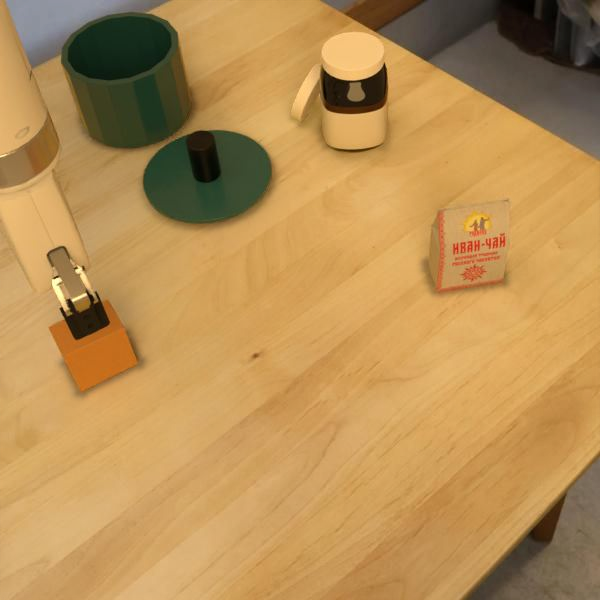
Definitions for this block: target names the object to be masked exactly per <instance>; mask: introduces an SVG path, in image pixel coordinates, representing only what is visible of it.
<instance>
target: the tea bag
mask: <svg viewBox="0 0 600 600" xmlns="http://www.w3.org/2000/svg"><path fill="white" fill-rule="evenodd" d="M511 202H512V201H511V200H510V198H503V199H497V200H490V201H483V202H476V203H469V204H464V205H456V206H450V207H443V208H438V209H437V212H436V214H435V217H434V219H433V221H432V224H430V225H431V226H430V237H429V250H428V261H427V265H428V269H429V271H430V275H431V278H432V281H433V286H434V288H435V291H436V293H440V292H445V291H453V290H459V289H466V288H473V287H479V286H484V285H485V286H486V285H493V284H497V283H498V284H499V283H503V282H504V276H505V272H506V266H507V262H508V261H507V260H508V255H509V250H510V245H511Z"/></svg>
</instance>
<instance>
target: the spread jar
mask: <svg viewBox="0 0 600 600" xmlns="http://www.w3.org/2000/svg"><path fill="white" fill-rule="evenodd" d="M320 53H321V54H320V55H321V63H320V64H319V63H316V64H315V65H313V67H312V68H311V69H310V71H309V72H308V73H307V76H306V77H305V79H304V80H303V82H302V84H301V86H300V88H299V90H298V92H297V95H296V96H295V99H294V101H293V104H292V107H291V109H290V117H292V118H294V119H295V120H297V121H299V122H303V121H304V120H305V119H306V118H307V116H308V115H309V113H310V112H311V110H312V109H313V107H314V105H315V103H316V101H317V100H318V97H319V99H320V100H319V101H320V120H321V129H322V136H323V140H324V142H325V144H326V145H327V146H328V148H330V149H332V150H334V151H337V152H342V153H350V154H352V153H353V154H354V153H356V154H357V153H364V152H368V151H369V152H370V151H372V150H374V149H377V148H379V147H380V146H382V145H383V144H384V142H385V141H386V138H387V134H388V133H387V132H388V123H389V122H388V121H389V120H388V118H389V117H388V113H389V111H388V109H389V76H388V67H387V65H386V62H385V46H384V44H383V42H382V41H381V39H379V38H378V37H376V36H375V35H372V34H370V33H367V32H362V31H348V32H347V31H346V32H343V33H339V34H336V35H334V36H332V37H330V38H329V39H328V40H326V41H325V43H324V44H323V45H322V47H321V52H320Z"/></svg>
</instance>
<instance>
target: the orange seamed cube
mask: <svg viewBox="0 0 600 600" xmlns="http://www.w3.org/2000/svg"><path fill="white" fill-rule="evenodd" d="M101 302H102V304H103V307H104V309H105V311H106V314H107V316H108V319H109V321H110V324H109V325H108V326H107V327H105V328H103V329H100V330H98V331H97V332H95V333H93V334H90V335H88V336H86V337H84V338H82V339H79V340H75V339H74V337H73V335H72V333H71V331H70V329H69V327H68V325H67V323H66V321H65V319H64V318H63V320H60V321H58V322H56V323H54V324H51V325H49V326H48V330H49V332H50V334H51V335H52V336H51V337H52V338H53V340H54V342H55V344H56V346H57V348H58V350H59V352H60V355H61V356H62V358H63V360H64V362H65V364H66V366H67V368H68V370H69V372H70V373H71V376H72V378H73V379H74V381H75V383H76V386H77V388H78V390H79V391H80V392H85V391H86V390H88V389H90V388H92V387H94V386H96V385H98V384H101V383H102V382H104V381H106V380H108V379H110V378H112V377H114V376H116V375H119V374H121V373H122V372H124V371H126V370H129V369H131V368H132V367H134V366H136V365H138V364H139V362H138V359H137V357H136V354H135V351H134V349H133V347H132V344H131V342H130V339H129V336H128V334H127V331H126V328H125V326H124V325H123V323H122V321H121V320H120V317H119V315H118V314H117V312H116V310H115V308H114V306H113V305H112V303H111V301H110V300H109V299H108V298H107V299H105V300H103V301H101Z"/></svg>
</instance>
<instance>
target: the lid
mask: <svg viewBox="0 0 600 600" xmlns="http://www.w3.org/2000/svg"><path fill="white" fill-rule="evenodd" d="M272 169H273V168H272V162H271V158H270V156H269V154H268V152H267V151H266V150H265V148H264V147H263V146H262V145H261V144H260V143H259V142H257V140H254V139H253V138H251V137H249V136H247V135H245V134H242V133H239V132H236V131H231V130H223V129H209V130H203V129H201V130H196V131H195V130H194V131H192V132H191V133H188V134H185V135H182V136H180V137H178V138H176V139H173V140H171V141H170V142H168V143H166V144H165V145H164V146H163V147H161V148H160V149H159V150H158V151H157V152H155V154H154V155H153V156H152V157H151V158H150V160H149V161H148V163H147V164H146V167H145V169H144V172H143V177H142V186H143V191H144V194H145V198H146V199H147V201H148V203H149V204H150V205H151V207H152V208H154V209H155V210H156V211H157V212H158V213H160V214H161V215H163V216H164V217H166V218H168V219H170V220H174V221H177V222H180V223H181V222H182V223H186V224H195V225H196V224H199V225H200V224H201V225H202V224H203V225H204V224H213V223H219V222H222V221H226V220H230V219H232V218H234V217H237V216H239V215H241V214H243V213H245V212H247V211H248V210H250V209H251V208H252V207H253V206H255V205H256V204H257V203H258V202H259V201H260V200H261V198H263V196H264V195H265V193H266V192H267V191H268V189H269V186H270V184H271V181H272V176H273V175H272V174H273V170H272Z"/></svg>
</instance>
